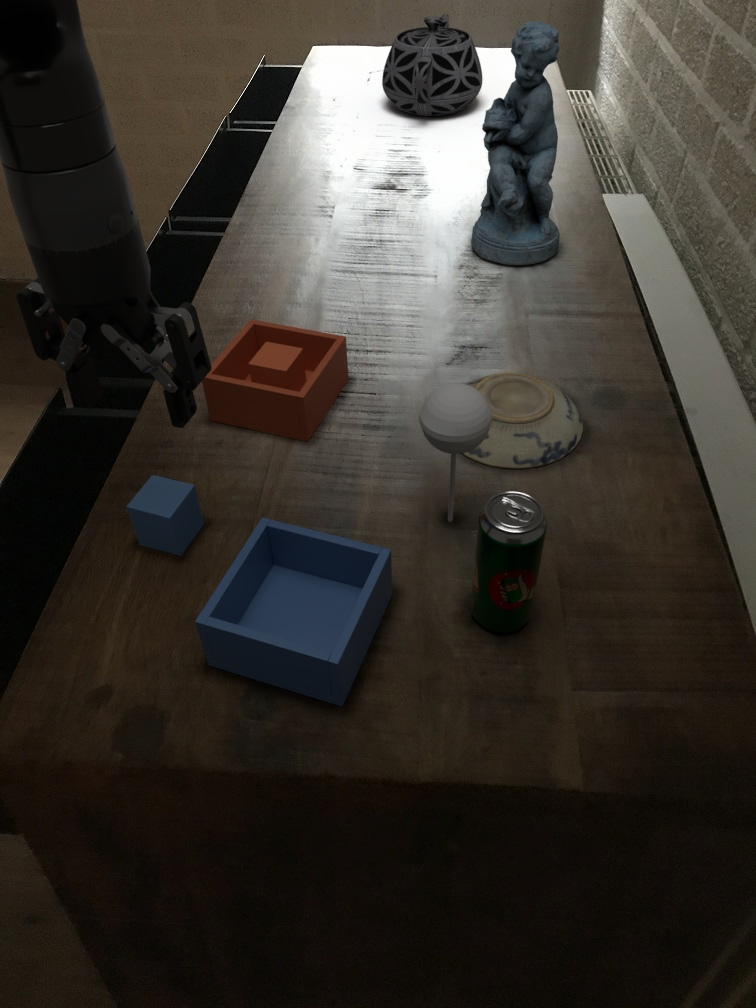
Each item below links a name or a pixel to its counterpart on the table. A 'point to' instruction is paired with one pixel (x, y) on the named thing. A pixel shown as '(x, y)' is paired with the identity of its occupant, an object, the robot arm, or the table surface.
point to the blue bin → (297, 610)
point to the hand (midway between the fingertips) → (137, 411)
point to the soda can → (507, 560)
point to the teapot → (432, 69)
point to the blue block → (166, 515)
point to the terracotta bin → (270, 405)
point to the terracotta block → (279, 366)
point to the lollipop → (455, 424)
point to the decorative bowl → (526, 422)
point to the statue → (521, 158)
